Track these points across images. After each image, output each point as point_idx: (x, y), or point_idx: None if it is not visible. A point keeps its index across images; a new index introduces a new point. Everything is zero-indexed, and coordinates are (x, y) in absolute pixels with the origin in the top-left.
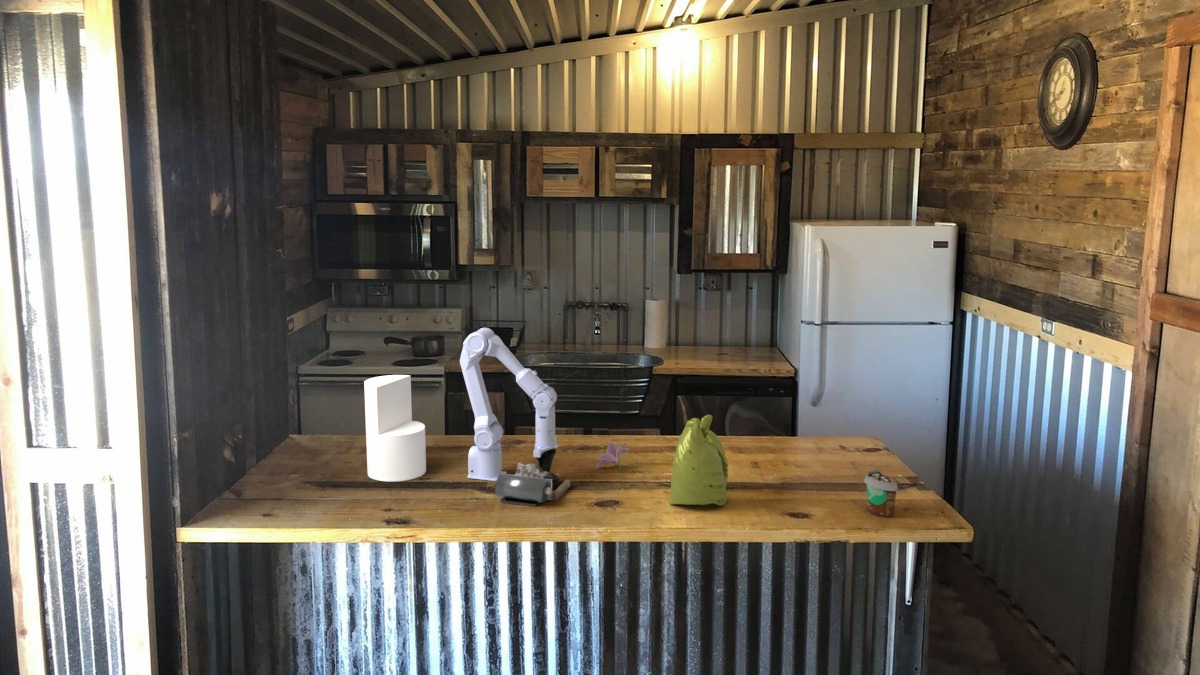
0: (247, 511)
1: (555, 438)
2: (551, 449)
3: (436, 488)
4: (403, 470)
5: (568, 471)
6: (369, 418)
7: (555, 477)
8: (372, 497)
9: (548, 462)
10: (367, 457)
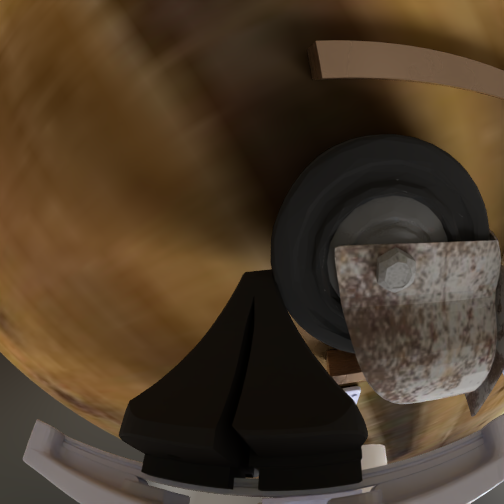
0: (470, 432)
1: (39, 471)
2: (165, 455)
3: (419, 415)
4: (380, 460)
5: (67, 222)
6: None
7: (367, 176)
8: (452, 422)
9: (305, 349)
10: None
